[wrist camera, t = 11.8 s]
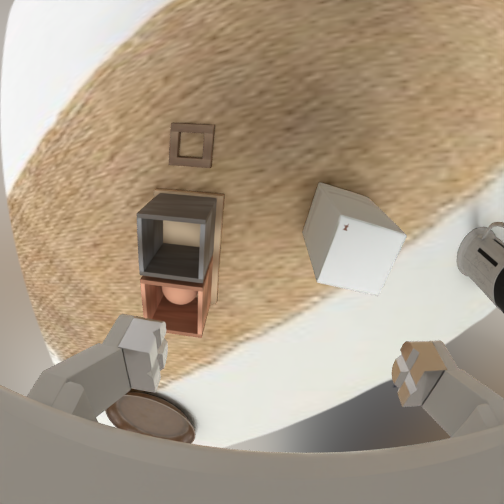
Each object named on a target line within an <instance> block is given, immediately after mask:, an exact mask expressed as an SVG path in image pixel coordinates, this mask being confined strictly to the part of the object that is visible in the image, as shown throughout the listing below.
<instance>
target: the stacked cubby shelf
mask: <svg viewBox="0 0 504 504" xmlns="http://www.w3.org/2000/svg"><path fill="white" fill-rule="evenodd" d="M223 206H224V194H217V193H207V192H196V191H184V190H172V189H159V188H156V189H155V190H154V198H153V199H152V200H151V201H150V202H149V203H148V204H147V205H146V206H144V207H143V208H142V209H141V210H140V211H139V212H138V213H137V234H138V254H139V270H140V275H143V276H142V278H141V279H140V283H141V295H142V305H143V315H144V318H149V319H154V320H160V321H164V322H165V323H166V333H172V334H179V335H186V336H193V337H200V338H202V334H203V330H204V326H205V322H206V319H207V315H208V311H209V307H210V304H216V303H217V294H218V277H219V262H220V247H221V233H222V219H223ZM162 286H164V287H171V288H178V289H186V290H194V291H198V294H197V295H196V297H195V298H194V299H193V300H192V301H191V302H189V303H187V304H183V305H179V304H174V303H172V302H170V301H169V300H168V299H167V298H166V297H165V295H164V293H163V291H162Z"/></svg>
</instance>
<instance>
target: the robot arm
mask: <svg viewBox="0 0 504 504" xmlns="http://www.w3.org/2000/svg"><path fill="white" fill-rule="evenodd" d="M165 334H166V323H165V322H164V321H160V320H154V319H149V318H143V317H138V316H132V315H127V314H121V315H119V317H118V318H117V320H116V322H115V323H114V325H113V326H112V328H111V330H110V331H109V333H108V335H107V337H106V338H105V340H104V342H103V343H102V344H100V343H98V344H96V345H94V346H92V347H90V348H88V349H86V350H84V351H82V352H80V353H78V354H76V355H74V356H72V357H70V358H68V359H66V360H64V361H62V362H60V363H58V364H56V365H54V366H52V367H50V368H48V369H46V370H44V371H43V372H42V373H41V375H40V377H39V378H38V380H37V381H36V383H35V384H34V386H33V388H32V389H31V391H30V392H29V394H28V396H27V397H26V396H23V395H21V394H19V393H17V392H14V391H12V390H10V389H8V388H6V387H3V386H1V385H0V504H504V399H503V398H502V397H501V396H499V395H498V394H496V393H495V392H494V391H492V390H491V389H489V388H488V387H487V386H485V385H484V384H482V383H481V382H479V381H478V380H476V379H475V378H474V377H472V376H471V375H470V374H468V373H467V372H465V371H464V370H462V369H458V367H457V365H456V363H455V362H454V360H453V358H452V357H451V355H450V353H449V351H448V350H447V348H446V346H445V345H444V343H443V342H442V341H406V342H405V343H404V344H403V346H402V348H401V354H402V355H400V356H399V357H398V358H397V359H396V360H395V362H394V364H393V367H392V379H393V382H394V384H395V385H396V386H397V387H398V388H399V391H398V396H399V399H400V401H401V404H402V407H409V406H422V408H423V409H424V410H425V411H426V412H427V413H428V414H429V415H430V416H431V417H432V418H433V419H434V420H435V421H436V422H437V423H438V424H439V425H440V426H441V427H442V428H443V429H444V430H445V431H446V432H447V433H448V435H449V436H450V437H451V438H449V439H444V440H439V441H433V442H428V443H422V444H416V445H410V446H403V447H396V448H387V449H378V450H368V451H355V452H337V453H335V452H334V453H281V452H260V451H247V450H236V449H226V448H218V447H210V446H203V445H196V444H190V443H183V442H178V441H172V440H167V439H162V438H157V437H152V436H148V435H143V434H139V433H135V432H130V431H126V430H123V429H119V428H115V427H111V426H108V425H104V424H101V423H98V421H97V419H96V417H97V416H98V415H100V414H101V413H102V412H103V411H105V410H106V409H107V408H108V407H110V406H111V405H112V404H113V403H115V402H116V401H117V400H119V399H120V398H121V397H122V396H124V395H125V394H126V393H127V392H129V391H130V390H131V388H132V389H137V390H143V391H148V392H154V393H156V390H157V387H158V384H159V381H160V378H161V377H160V370H162V369H164V366H165V363H166V359H167V350H168V345H167V341H166V339H165V338H164V336H165Z"/></svg>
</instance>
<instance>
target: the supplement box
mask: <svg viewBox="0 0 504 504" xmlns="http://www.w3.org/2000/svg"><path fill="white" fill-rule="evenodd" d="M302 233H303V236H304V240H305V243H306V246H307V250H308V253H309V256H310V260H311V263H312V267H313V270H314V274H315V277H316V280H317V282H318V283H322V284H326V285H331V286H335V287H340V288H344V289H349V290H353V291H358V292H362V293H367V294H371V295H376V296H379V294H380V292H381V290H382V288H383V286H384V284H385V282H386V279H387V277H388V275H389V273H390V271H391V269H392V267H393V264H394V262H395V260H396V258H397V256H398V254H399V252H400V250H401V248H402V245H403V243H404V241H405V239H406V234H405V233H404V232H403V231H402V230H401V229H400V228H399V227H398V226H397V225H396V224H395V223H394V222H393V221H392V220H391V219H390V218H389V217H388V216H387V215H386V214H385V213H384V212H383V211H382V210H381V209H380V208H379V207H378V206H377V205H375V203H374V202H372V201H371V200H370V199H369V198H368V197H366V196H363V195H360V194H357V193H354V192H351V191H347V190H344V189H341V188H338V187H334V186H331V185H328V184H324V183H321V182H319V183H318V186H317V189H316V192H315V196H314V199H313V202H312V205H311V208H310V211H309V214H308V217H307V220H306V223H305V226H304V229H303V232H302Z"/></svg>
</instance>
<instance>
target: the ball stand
mask: <svg viewBox="0 0 504 504" xmlns="http://www.w3.org/2000/svg"><path fill="white" fill-rule="evenodd" d="M214 129H215V125H205V124H186V123H171V131H170V148H169V165H177V166H191V167H204V168H211V166H212V153H213V141H214ZM180 132H192V133H204V146H203V158H197V157H182V156H179V147H180Z"/></svg>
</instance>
